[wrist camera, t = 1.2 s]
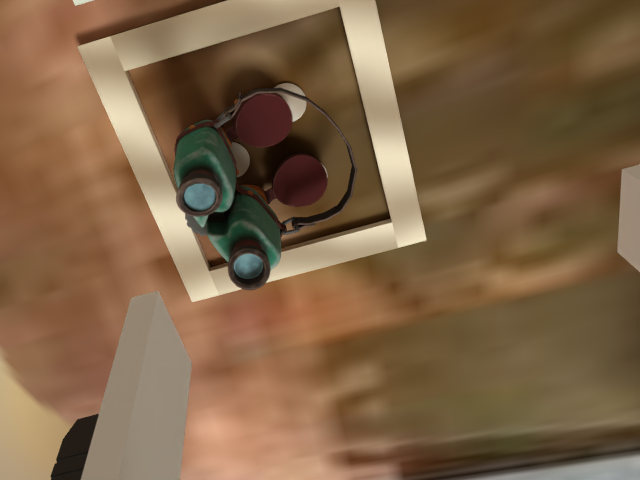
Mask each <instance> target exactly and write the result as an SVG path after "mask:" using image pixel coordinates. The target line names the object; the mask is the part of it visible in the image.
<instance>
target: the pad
mask: <svg viewBox="0 0 640 480" xmlns="http://www.w3.org/2000/svg"><path fill="white" fill-rule="evenodd" d="M90 1H93V0H73V2H74V4H75V5H80V4H84V3H87V2H90Z"/></svg>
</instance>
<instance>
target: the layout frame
mask: <svg viewBox="0 0 640 480" xmlns="http://www.w3.org/2000/svg"><path fill="white" fill-rule="evenodd" d="M336 7H339V8H340V12H341V16H342V20H343V24H344V28H345V32H346V36H347V41H348V45H349V49H350V53H351V57H352V61H353V65H354V69H355V74H356V78H357V82H358V86H359V90H360V94H361V98H362V102H363V107H364V111H365V115H366V119H367V123H368V127H369V131H370V135H371V140H372V144H373V148H374V152H375V156H376V160H377V164H378V169H379V173H380V177H381V181H382V185H383V189H384V193H385V197H386V202H387V206H388V210H389V214H390V218H391V219H388V220H384V221H380V222H377V223H373V224H369V225H366V226H362V227H358V228H354V229H351V230H347V231H343V232H340V233H336V234H332V235H328V236H325V237H321V238H317V239H314V240H310V241H306V242H302V243H299V244H295V245H291V246H288V247H284V248H281V259H280V262H279V264H278V265H277V266H276V267H275V268H273V269H272V270H271V271H270V276H269V279H268V280H267V282H271V281H274V280H278V279H282V278H286V277H289V276H293V275H297V274H301V273H305V272H308V271H312V270H316V269H320V268H323V267H327V266H331V265H335V264H339V263H342V262H346V261H350V260H354V259H357V258H361V257H365V256H369V255H373V254H376V253H380V252H384V251H388V250H391V249H395V248H399V247H403V246H407V245H410V244H414V243H418V242H422V241H425V240H426V235H425V230H424V226H423V221H422V217H421V212H420V207H419V203H418V198H417V193H416V189H415V184H414V179H413V175H412V170H411V165H410V161H409V156H408V151H407V147H406V142H405V137H404V133H403V128H402V123H401V119H400V114H399V109H398V105H397V100H396V95H395V91H394V86H393V81H392V77H391V72H390V67H389V63H388V58H387V53H386V49H385V44H384V40H383V35H382V30H381V26H380V21H379V16H378V12H377V7H376V2H375V0H226V1H223V2H220V3H216V4H213V5H210V6H206V7H203V8H200V9H197V10H193V11H190V12H187V13H184V14H180V15H177V16H174V17H171V18H167V19H164V20H161V21H158V22H154V23H151V24H148V25H145V26H141V27H138V28H135V29H132V30H128V31H125V32H122V33H119V34H115V35H112V36H109V37H106V38H102V39H99V40H96V41H93V42H89V43H86V44H83V45H80V46H77V47H78V49H79V52H80V54H81V56H82V58H83V60H84V63H85V65H86V67H87V69H88V72H89V74H90V76H91V78H92V80H93V83H94V85H95V87H96V89H97V92H98V94H99V96H100V98H101V100H102V103H103V105H104V107H105V109H106V112H107V114H108V116H109V118H110V120H111V123H112V125H113V127H114V129H115V132H116V134H117V136H118V138H119V140H120V143H121V145H122V147H123V149H124V152H125V154H126V156H127V158H128V160H129V163H130V165H131V167H132V169H133V172H134V174H135V176H136V178H137V180H138V183H139V185H140V187H141V189H142V192H143V194H144V196H145V198H146V200H147V203H148V205H149V207H150V209H151V212H152V214H153V216H154V218H155V220H156V223H157V225H158V227H159V229H160V232H161V234H162V236H163V238H164V240H165V243H166V245H167V247H168V249H169V252H170V254H171V256H172V258H173V260H174V263H175V265H176V267H177V269H178V272H179V274H180V276H181V278H182V280H183V283H184V285H185V287H186V289H187V292H188V294H189V296H190V298H191V300H192V302H195V301H199V300H203V299H206V298H210V297H214V296H218V295H221V294H225V293H229V292H233V291H237V290H240V289H241V288H239V287H237V286H236V285H235V284H234V283H233V282H232V281H231V279H230V277H229V275H228V263H224V264H221V265H217V266H213V267H210V266H209V263H208V261H207V258H206V256H205V254H204V251H203V249H202V247H201V244H200V242H199V239H198V237H197V235H196V233H194V232H192V229H191V228H190V227H188V226H187V220H185V213H184V212H182V211H181V210H180V208H179V207H178V205H177V203H176V194H177V191H178V189H177V187H176V184H175V182H174V180H173V177H172V175H171V173H170V170H169V168H168V165H167V163H166V161H165V158H164V156H163V153H162V151H161V149H160V146H159V144H158V142H157V139H156V137H155V134H154V132H153V130H152V127H151V125H150V122H149V120H148V118H147V115H146V113H145V111H144V108H143V106H142V103H141V101H140V99H139V96H138V94H137V91H136V89H135V87H134V84H133V82H132V80H131V77H130V75H129V72H128V70H131V69H134V68H137V67H141V66H144V65H147V64H151V63H154V62H157V61H161V60H164V59H167V58H171V57H174V56H177V55H180V54H184V53H187V52H190V51H194V50H197V49H200V48H204V47H207V46H210V45H214V44H217V43H220V42H224V41H227V40H230V39H234V38H237V37H240V36H244V35H247V34H250V33H253V32H257V31H260V30H263V29H267V28H270V27H273V26H277V25H280V24H283V23H287V22H290V21H293V20H297V19H300V18H303V17H307V16H310V15H313V14H317V13H320V12H323V11H327V10H330V9H333V8H336ZM274 88H283V89H286V90H288V91H291V92H294V93H297V94H300V95H303V96H305V95H304V93H303V91H302V90H301V89H300V88H299V87H298V86H296V85H294V84H291V83H283V84H279V85H277V86H276V87H274ZM278 94H279V95H280V96H281V97H282V98H283V99H284V100H285V101H286V102H287V104H288V105H289V107H290V109H291V111H292V117H293V121H296V120H298V119H299V118H300V117H301V116H302V115H303V113H304V112H305V109H306V101H304V100H301V99H298V98H295V97H293V96H290V95H287V94H284V93H278ZM293 121H292V122H293ZM231 150H232V152H233V155H234V158H235V160H236V167H237V169H238V170H239V174H238V175H237V177H240V176H242V175H243V174H244V173H245V172H246V171H247V169H248V167H249V164H250V157H249V154H248V152H247V150H246V149H245V148H244V147H243V146H242V145H240V144H238V143H235V142H232V144H231ZM321 164H322V163H321ZM322 166H323V167H324V165H323V164H322ZM324 168H325V167H324ZM325 171H326V168H325ZM326 173H327V171H326ZM327 178H328V175H327ZM267 282H266V283H267Z"/></svg>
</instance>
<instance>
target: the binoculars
mask: <svg viewBox="0 0 640 480" xmlns="http://www.w3.org/2000/svg"><path fill="white" fill-rule="evenodd" d="M241 93H242V92H239V95H238V99H236V100H235V102H234V105H232V106H230V107H229V108H227V109H225V111H224V112H223V113H222V114H221V115H220V116H219V117H217V118H216V119H215V120H214V121H211V120H203V121H200V122H197V123H195V124H193V125H191V126H190V127H188V128H186V129H185V130H184V131H183V132H182V133H181V134H180V135H179V136H178V137H177V140H176V144H175V163H174V177H175V181H176V184H177V187H178V191H177V194H176V203H177V205H178V207H179V208H180V210H181V211H182V212H184V213H185V220H187V226H188V227H190V228H191V229H192V232H194V233H198V234H200V235H201V236H204V235H207V236H208V238H209V239H210V241H211V242H212V244H213V245H214V247H215V248H216V249H217V251H218V252H219V253H220V254H221V256H222V257H223V258H224V259H225V260H226V261H227V262H228V275H229V277H230V279H231V281H232V282H233V283H234V284H235V285H236V286H237V287H239V288H241V289H244V290H256V289H258V288H260V287H262V286H263V285H264V284H265V283H266V282H267V280H268V279H269V276H270V271H271V270H272V269H273V268H275V267H276V266H277V265H278V264H279V262H280V259H281V237H282V235H283V234H285V235H288V234H292V233H296V232H299V230H300V229H302V228H304V227H310V226H315V224H316V223H318V222H322V221H325V220H328V219H330V218H332V217H333V216H335V215H337V214H339V213H340V212H342V211H343V209H344V208H345V206H346V205H347V203H348V202H349V200H350V199H351V197H352V194H353V189H354V183H355V178H356V173H357V168H356V164H355V160H354V157H353V153H352V149H351V146H350V144H349V143H348V141H347V140H346V138H345V137H344V135H343V134H342V132H341V130H340V129H339V127H338V126H337V125H336V124H335V123H334V121H333V120H332V119H331V118H330V117H329V116H328V115H327V113H326V112H325V111H324V110H323V109H321V108H320V107H319V106H317V105H316V104H315V103H314V102H312V101H311V100H310V99H308V98H307V97H306V96H303V95H300V94H297V93H294V92H291V91H288V90H286V89H283V88H259V89H255V90H253V91H251V92H249V93H247V94H245V95H243V96H241ZM278 93H284V94H287V95H290V96H293V97H295V98H298V99H301V100H304V101H307V102H308V103H310V104H311V105H312V106H314V107H315V108H316V109H317V110H319V111H320V112H321V113H323V114H324V115H325V116H326V117H327V118H328V119H329V120H330V122H331V123H332V124H333V125H334V126H335V127H336V128H337V130H338V131H339V133H340V135H341V136H342V138H343V139H344V141H345V142H346V145H347V149H348V152H349V156H350V160H351V163H352V168H351V174H350V179H349V184H348V190H347V192H346V193H345V195H344V197H343V198H342V200H341V201H340V203H339V204H338V205H337V206H335V207H333V208H331V209H330V210H328V211H326V212H324V213H321V214H317V215H314V216H310V217H292V218H290V219H288V220H285V221H283V222H282V223H280V221H279V220H278V218H277V216H276V214H275V213H274V212H273V210H272V209H271V208H270V207H269V206H268V204H270V202H271V201H272V200H273V199H275V198H277V199H278V200H279V201H280V202H282V203H283V204H286V205H289V206H295V207H301V206H307V205H311V204H313V203H315V202H316V201H318V200H319V199H320V198H321V197H322V196H323V194H324V192H325V190H326V187H327V180H328V179H327V173H326V171H325V168H324V167H323V166H322V164H321V163H320V162H319V161H318V160H317V159H316V158H314V157H313V156H311V155H308V154H305V153H297V154H293V155H290V156H288V157H287V158H285V159H284V160H283V161H282V162H281V163H280V164H279V166H278V167H277V169H276V170H275V173H274V175H273V179H272V188H270V189H268V190H267V191H266V192H265V191H264V190H263V189H262V188H260V187H258V186H255V185H238V183H237V175H238V174H239V170H238V169H237V167H236V160H235V158H234V155H233V152H232V150H231V144H232V141H233V140H234V139H235V138H237V137H238V138H239V139H240V140H241V141H242V142H243V143H245V144H247V145H250V146H253V147H269V146H272V145H275V144H277V143H279V142H281V141H282V140H283V139H284V138H285V137H286V136H287V135H288V133H289V132H290V130H291V127H292V121H293V117H292V111H291V109H290V107H289V105H288V104H287V102H286V101H285V100H284V99H283V98H282V97H281V96H280V95H279V94H278ZM231 111H232V112H231ZM233 116H234V118H233V126H232V127H230V128H228V129H227V130H224V129H223V128H221V127H220V126H221V125H223V124H224V123H225V122H227V121H228V120H231V118H232V117H233ZM221 119H222V120H221ZM220 120H221V121H220ZM289 222H292V226H293V229H294V230H289V231H287V229H286V225H285V224H287V223H289Z"/></svg>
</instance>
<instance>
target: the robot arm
mask: <svg viewBox="0 0 640 480" xmlns="http://www.w3.org/2000/svg"><path fill="white" fill-rule="evenodd" d="M617 252H618V253H619V254H620V255H621V256H622V257H624V258H625V259H626V260H627V261H628V262H629V263H630V264H631V265H632V266H634V267H635V268H636V269H637V270H638V271H639V272H640V165H636V166H633V167H629V168H625V169H622V178H621V197H620V215H619V233H618V251H617ZM191 367H192V362H191V360H190V358H189V356H188V353H187V351H186V349H185V347H184V345H183V343H182V341H181V338H180V336H179V334H178V332H177V330H176V328H175V326H174V323H173V321H172V319H171V317H170V315H169V313H168V311H167V309H166V306H165V304H164V302H163V300H162V298H161V296H160V294H159V291H155V292H151V293H148V294H144V295H140V296H136V297H132V298H131V301H130V304H129V308H128V311H127V315H126V319H125V322H124V326H123V329H122V333H121V337H120V340H119V344H118V347H117V351H116V355H115V358H114V362H113V365H112V369H111V373H110V376H109V380H108V383H107V387H106V391H105V394H104V398H103V401H102V405H101V409H100V412H99V414H96V415H93V416H89V417H85V418H81V419H77V421H76V422H75V424H74V425H73V426H72V428H71V429H70V430H69V432H68V433H67V435H66V436H65V438H64V439H63V441H62V444H61V447H60V450H59V453H58V456H57V459H56V460H57V463H56V464H55V465H54V468H53V471H52V474H51V480H180V473H181V464H182V454H183V444H184V435H185V425H186V416H187V406H188V396H189V387H190V377H191Z"/></svg>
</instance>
